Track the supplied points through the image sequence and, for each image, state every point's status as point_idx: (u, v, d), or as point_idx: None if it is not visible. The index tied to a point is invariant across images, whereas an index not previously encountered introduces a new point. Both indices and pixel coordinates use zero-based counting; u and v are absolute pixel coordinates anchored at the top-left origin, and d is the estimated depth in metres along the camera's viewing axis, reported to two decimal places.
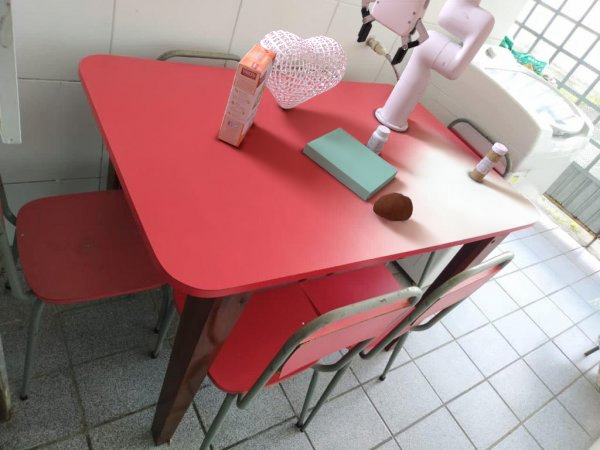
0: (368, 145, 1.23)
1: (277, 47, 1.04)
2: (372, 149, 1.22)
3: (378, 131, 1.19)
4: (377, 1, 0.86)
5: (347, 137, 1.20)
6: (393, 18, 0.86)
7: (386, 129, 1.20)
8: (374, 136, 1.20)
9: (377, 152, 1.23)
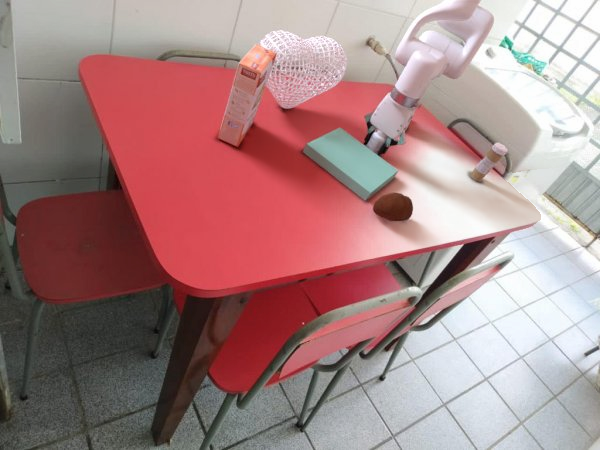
0: (368, 145, 1.23)
1: (277, 47, 1.04)
2: (372, 149, 1.22)
3: (378, 131, 1.19)
4: (374, 113, 1.18)
5: (347, 137, 1.20)
6: (386, 126, 1.17)
7: None
8: (374, 136, 1.20)
9: (377, 152, 1.23)
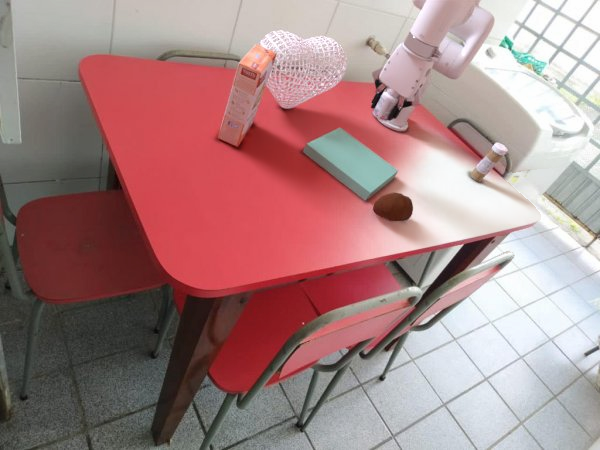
0: (376, 108, 1.04)
1: (277, 47, 1.04)
2: (381, 112, 1.04)
3: (389, 90, 1.01)
4: (384, 68, 0.99)
5: (347, 137, 1.20)
6: (398, 83, 0.98)
7: None
8: (384, 96, 1.02)
9: (387, 116, 1.04)
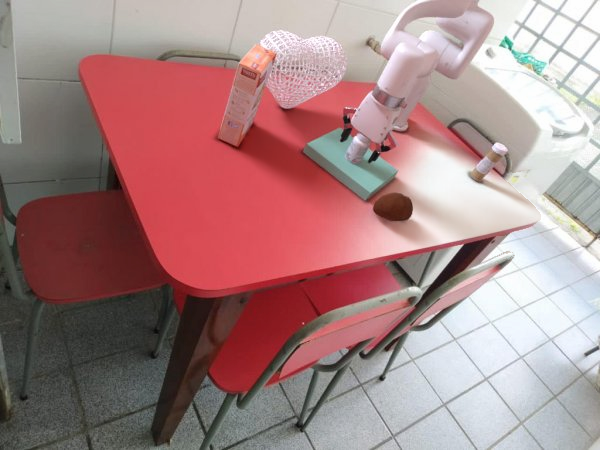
0: (348, 151, 1.10)
1: (277, 47, 1.04)
2: (353, 156, 1.10)
3: (359, 136, 1.07)
4: (355, 114, 1.05)
5: None
6: (368, 129, 1.04)
7: None
8: (355, 141, 1.08)
9: (358, 159, 1.11)
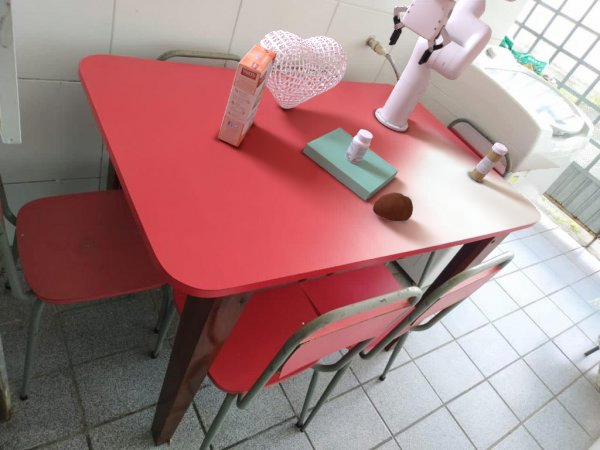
0: (348, 151, 1.10)
1: (277, 47, 1.04)
2: (353, 156, 1.10)
3: (359, 136, 1.07)
4: (408, 11, 1.03)
5: (347, 137, 1.20)
6: (421, 25, 1.03)
7: (368, 134, 1.08)
8: (355, 141, 1.08)
9: (358, 159, 1.11)
